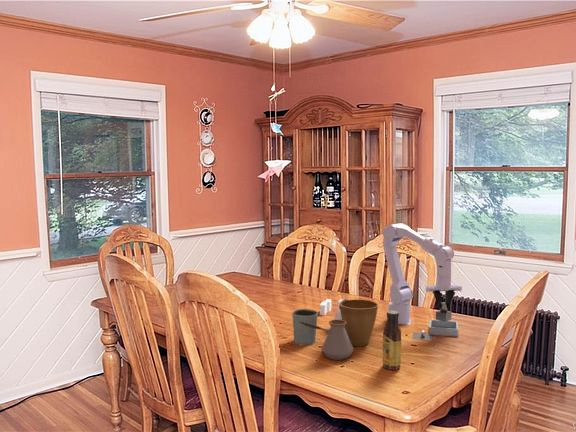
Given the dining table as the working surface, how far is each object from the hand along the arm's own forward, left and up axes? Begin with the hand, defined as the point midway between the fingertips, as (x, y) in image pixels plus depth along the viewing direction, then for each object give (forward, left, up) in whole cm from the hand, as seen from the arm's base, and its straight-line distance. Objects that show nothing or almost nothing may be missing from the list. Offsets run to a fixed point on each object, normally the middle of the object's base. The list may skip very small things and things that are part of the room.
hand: (443, 308), depth 218 cm
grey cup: (-53, -25, -11) cm, 59 cm away
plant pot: (-32, -22, -11) cm, 40 cm away
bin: (0, 0, -10) cm, 10 cm away
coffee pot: (-41, -41, -11) cm, 59 cm away
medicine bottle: (-41, -3, -11) cm, 42 cm away
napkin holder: (-54, +19, -11) cm, 58 cm away
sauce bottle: (-17, -44, -11) cm, 48 cm away
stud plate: (-8, -9, -10) cm, 16 cm away
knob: (0, 0, -5) cm, 5 cm away
